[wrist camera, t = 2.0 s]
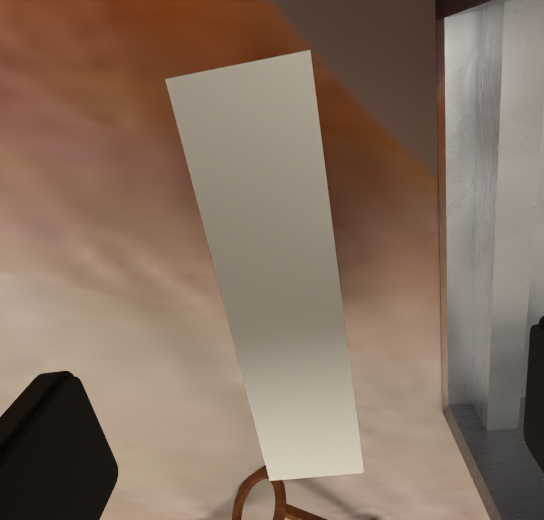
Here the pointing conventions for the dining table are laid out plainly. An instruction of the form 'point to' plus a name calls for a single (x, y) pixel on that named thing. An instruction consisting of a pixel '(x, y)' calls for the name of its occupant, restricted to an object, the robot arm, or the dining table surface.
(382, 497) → the dining table surface
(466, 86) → the door track
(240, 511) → the glasses
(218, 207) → the door panel
